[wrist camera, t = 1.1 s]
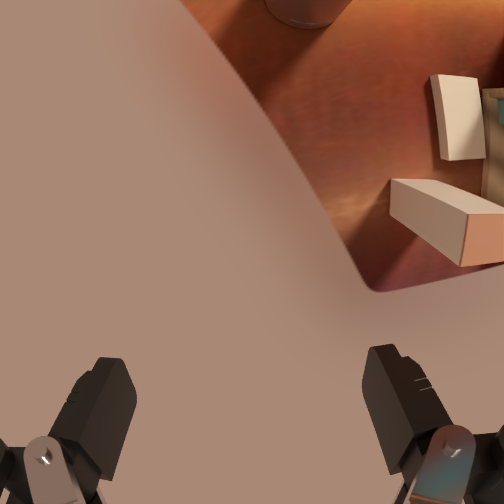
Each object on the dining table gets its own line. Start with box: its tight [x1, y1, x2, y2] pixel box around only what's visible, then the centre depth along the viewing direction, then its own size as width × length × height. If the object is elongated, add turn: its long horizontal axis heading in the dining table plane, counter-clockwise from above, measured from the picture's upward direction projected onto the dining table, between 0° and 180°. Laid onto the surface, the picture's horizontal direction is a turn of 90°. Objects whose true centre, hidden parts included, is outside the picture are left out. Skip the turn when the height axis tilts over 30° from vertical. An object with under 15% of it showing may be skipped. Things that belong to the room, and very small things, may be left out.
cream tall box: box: [389, 179, 504, 267], centre depth 28 cm, size 5×7×16 cm, turn 94°
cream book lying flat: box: [430, 75, 486, 161], centre depth 30 cm, size 11×7×2 cm, turn 11°
